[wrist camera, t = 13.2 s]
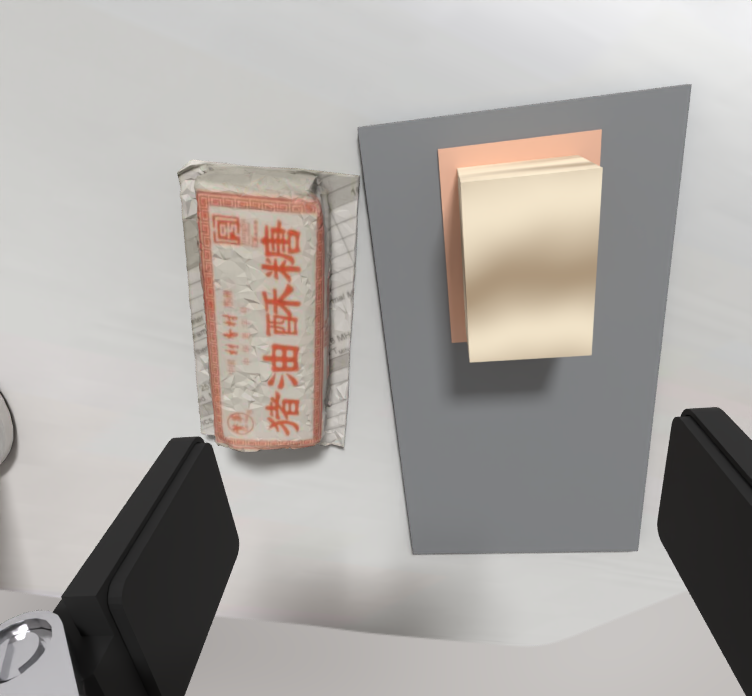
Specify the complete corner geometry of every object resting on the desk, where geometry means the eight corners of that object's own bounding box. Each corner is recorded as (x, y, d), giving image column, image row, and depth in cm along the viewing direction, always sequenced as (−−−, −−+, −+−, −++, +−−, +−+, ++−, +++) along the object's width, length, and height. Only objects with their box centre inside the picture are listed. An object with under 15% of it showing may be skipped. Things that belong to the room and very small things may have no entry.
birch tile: (457, 168, 28) (460, 182, 24) (577, 154, 27) (602, 167, 23) (465, 326, 32) (469, 362, 28) (571, 319, 31) (591, 355, 27)
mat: (413, 548, 41) (413, 556, 40) (358, 126, 28) (356, 128, 27) (635, 544, 39) (638, 553, 38) (686, 84, 26) (693, 84, 25)
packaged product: (145, 168, 26) (350, 186, 25) (186, 156, 30) (362, 171, 30) (180, 465, 34) (336, 484, 33) (208, 422, 38) (347, 438, 38)
